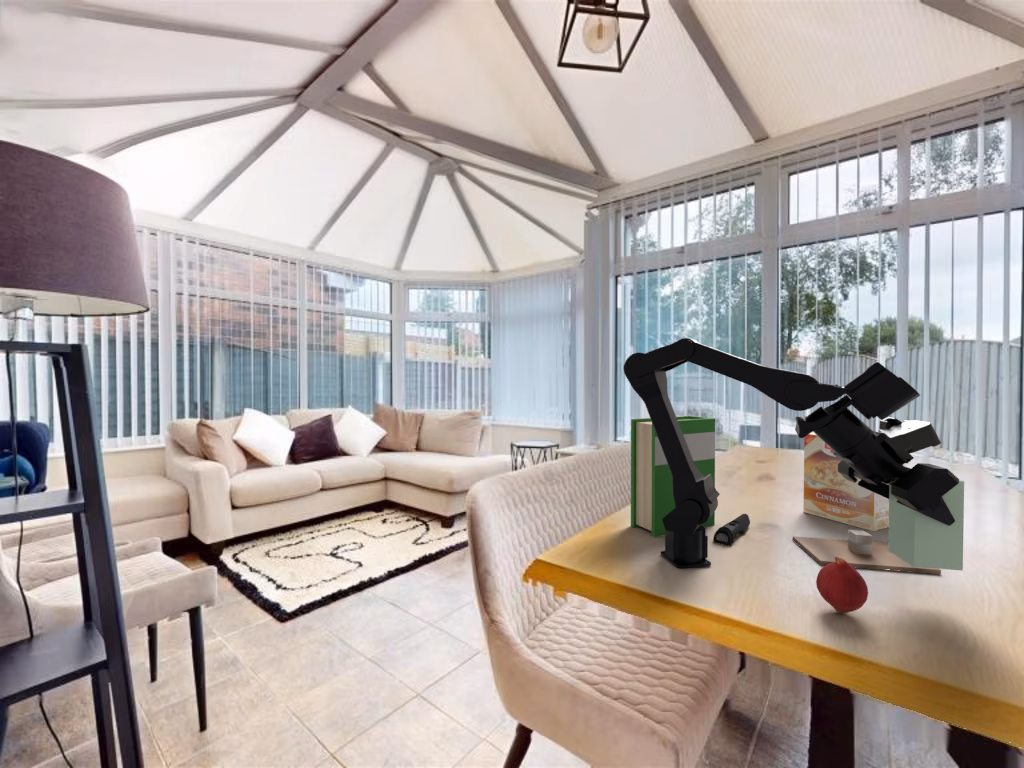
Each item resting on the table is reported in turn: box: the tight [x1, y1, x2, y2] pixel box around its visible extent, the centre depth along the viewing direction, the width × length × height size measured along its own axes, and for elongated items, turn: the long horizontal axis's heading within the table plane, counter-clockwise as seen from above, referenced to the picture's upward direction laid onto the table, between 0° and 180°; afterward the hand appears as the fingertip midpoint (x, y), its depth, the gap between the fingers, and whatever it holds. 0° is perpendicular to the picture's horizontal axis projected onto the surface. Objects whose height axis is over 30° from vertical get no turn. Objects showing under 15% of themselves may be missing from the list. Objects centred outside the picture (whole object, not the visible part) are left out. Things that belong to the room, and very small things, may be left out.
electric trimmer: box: [712, 513, 751, 547], centre depth 93 cm, size 4×16×3 cm, turn 136°
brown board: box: [792, 529, 942, 575], centre depth 82 cm, size 18×12×4 cm, turn 78°
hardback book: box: [630, 415, 716, 538], centre depth 98 cm, size 18×7×24 cm, turn 115°
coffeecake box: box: [802, 432, 889, 532], centre depth 102 cm, size 15×7×20 cm, turn 25°
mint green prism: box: [888, 479, 965, 571], centre depth 64 cm, size 6×6×12 cm
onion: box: [815, 556, 869, 614], centre depth 62 cm, size 6×6×8 cm
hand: (935, 516), depth 64 cm, fingers closed on mint green prism, 6 cm apart
